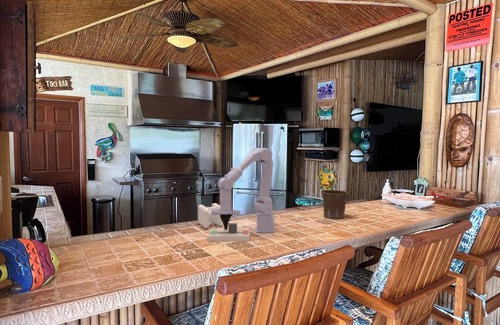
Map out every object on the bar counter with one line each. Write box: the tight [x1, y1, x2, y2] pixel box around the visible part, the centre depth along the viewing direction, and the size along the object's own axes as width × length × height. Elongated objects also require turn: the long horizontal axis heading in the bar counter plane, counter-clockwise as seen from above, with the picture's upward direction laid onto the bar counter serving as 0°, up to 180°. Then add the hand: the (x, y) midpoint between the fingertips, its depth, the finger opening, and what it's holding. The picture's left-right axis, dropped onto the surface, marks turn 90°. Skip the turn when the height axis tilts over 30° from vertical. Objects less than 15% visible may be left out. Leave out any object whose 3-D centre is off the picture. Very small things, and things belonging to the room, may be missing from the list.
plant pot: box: [321, 189, 349, 220], centre depth 197 cm, size 16×16×16 cm
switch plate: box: [207, 228, 251, 242], centre depth 156 cm, size 20×12×2 cm, turn 89°
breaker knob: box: [228, 222, 238, 233], centre depth 156 cm, size 4×3×4 cm
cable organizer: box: [197, 202, 223, 229], centre depth 178 cm, size 15×11×12 cm
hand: (225, 229), depth 156 cm, fingers closed
